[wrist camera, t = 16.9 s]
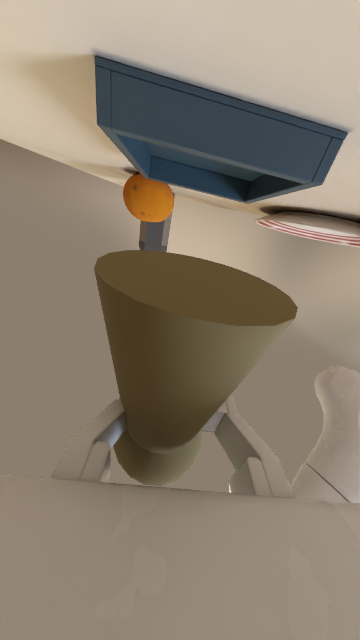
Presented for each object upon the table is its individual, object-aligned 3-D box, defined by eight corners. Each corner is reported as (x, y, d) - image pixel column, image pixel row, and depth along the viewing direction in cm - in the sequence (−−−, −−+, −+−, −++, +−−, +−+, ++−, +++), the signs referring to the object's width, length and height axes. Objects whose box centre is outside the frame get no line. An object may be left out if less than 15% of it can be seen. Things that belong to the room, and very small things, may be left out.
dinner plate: (237, 202, 41) (232, 218, 43) (393, 214, 23) (374, 241, 25) (288, 222, 57) (283, 233, 58) (405, 239, 39) (393, 254, 40)
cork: (88, 243, 6) (100, 412, 12) (113, 350, 2) (113, 540, 7) (215, 258, 9) (177, 389, 15) (341, 315, 5) (220, 471, 10)
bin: (348, 132, 10) (322, 185, 11) (255, 181, 23) (248, 203, 24) (94, 55, 9) (96, 124, 10) (145, 152, 21) (144, 177, 23)
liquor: (145, 189, 54) (138, 279, 69) (142, 184, 47) (135, 287, 62) (173, 196, 56) (161, 283, 71) (175, 192, 48) (160, 291, 63)
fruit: (166, 186, 41) (161, 223, 45) (120, 171, 36) (119, 214, 40) (185, 183, 33) (177, 229, 37) (131, 164, 29) (128, 219, 32)
